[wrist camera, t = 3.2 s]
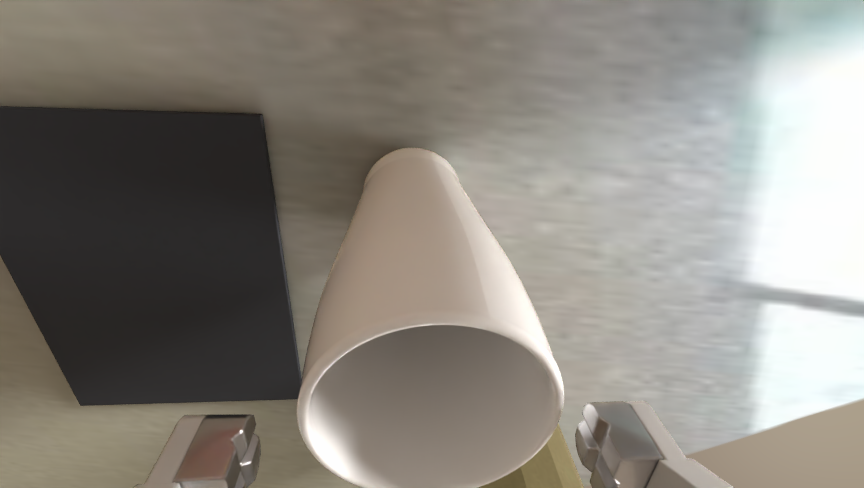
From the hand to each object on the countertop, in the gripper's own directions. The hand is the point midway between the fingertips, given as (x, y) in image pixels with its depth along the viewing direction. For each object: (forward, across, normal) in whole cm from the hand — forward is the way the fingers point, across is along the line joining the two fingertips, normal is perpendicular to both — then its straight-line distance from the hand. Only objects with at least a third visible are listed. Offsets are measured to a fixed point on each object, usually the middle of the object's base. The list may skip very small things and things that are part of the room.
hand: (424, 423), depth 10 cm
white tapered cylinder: (+15, 0, 0) cm, 15 cm away
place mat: (+15, +15, +6) cm, 22 cm away
